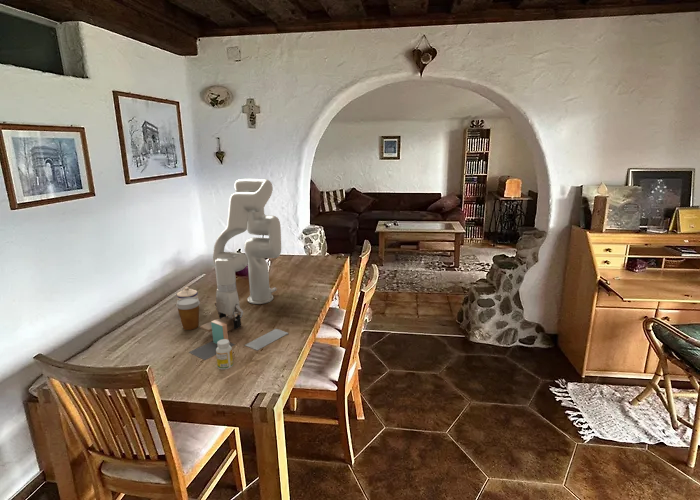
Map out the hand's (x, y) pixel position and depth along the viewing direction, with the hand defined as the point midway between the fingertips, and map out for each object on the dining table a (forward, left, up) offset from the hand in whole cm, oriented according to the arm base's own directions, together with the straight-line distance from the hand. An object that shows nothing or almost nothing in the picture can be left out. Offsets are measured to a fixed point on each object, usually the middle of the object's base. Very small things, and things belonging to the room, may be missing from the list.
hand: (230, 325), depth 175 cm
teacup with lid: (-2, -31, -2) cm, 31 cm away
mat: (+16, +9, -1) cm, 18 cm away
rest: (-1, +21, -1) cm, 21 cm away
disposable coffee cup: (+9, -15, -2) cm, 18 cm away
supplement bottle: (+21, +23, -2) cm, 31 cm away
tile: (+12, +9, -1) cm, 15 cm away
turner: (+4, 0, -1) cm, 4 cm away
